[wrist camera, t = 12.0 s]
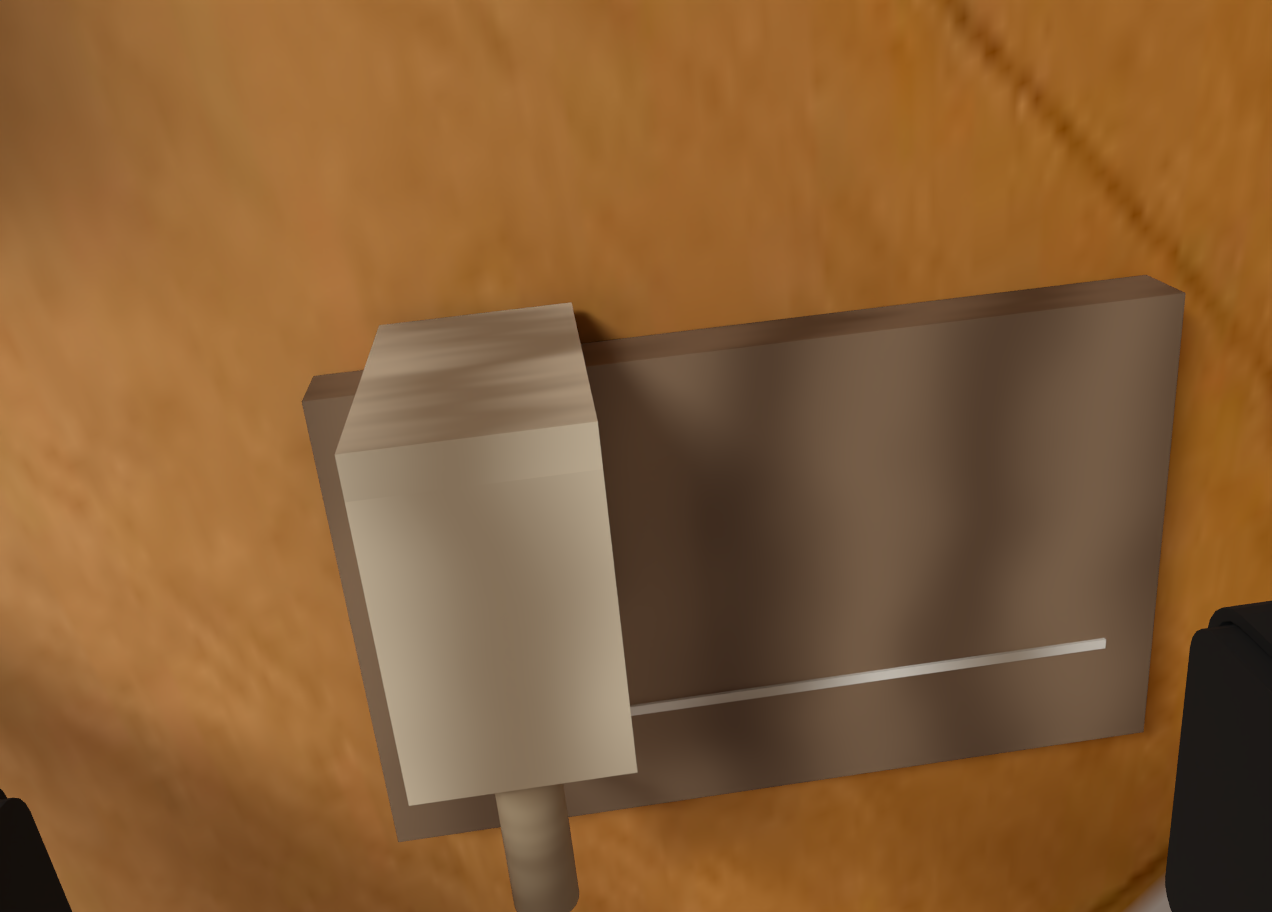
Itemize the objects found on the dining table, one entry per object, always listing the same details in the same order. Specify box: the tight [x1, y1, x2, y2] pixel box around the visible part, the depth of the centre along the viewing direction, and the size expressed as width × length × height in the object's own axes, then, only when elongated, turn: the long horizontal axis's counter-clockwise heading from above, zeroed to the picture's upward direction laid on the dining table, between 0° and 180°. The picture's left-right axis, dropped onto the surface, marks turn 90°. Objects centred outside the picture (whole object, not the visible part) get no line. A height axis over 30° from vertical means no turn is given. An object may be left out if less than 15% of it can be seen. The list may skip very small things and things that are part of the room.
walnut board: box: [302, 275, 1185, 842], centre depth 33 cm, size 23×14×2 cm, turn 95°
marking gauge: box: [335, 303, 637, 912], centre depth 29 cm, size 5×13×9 cm, turn 5°
